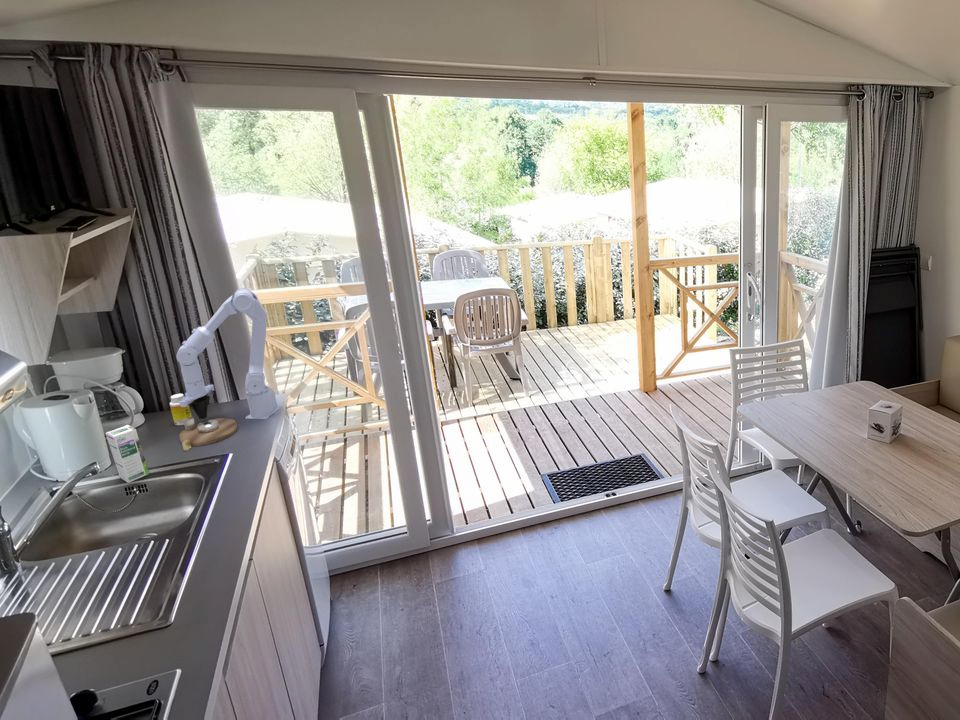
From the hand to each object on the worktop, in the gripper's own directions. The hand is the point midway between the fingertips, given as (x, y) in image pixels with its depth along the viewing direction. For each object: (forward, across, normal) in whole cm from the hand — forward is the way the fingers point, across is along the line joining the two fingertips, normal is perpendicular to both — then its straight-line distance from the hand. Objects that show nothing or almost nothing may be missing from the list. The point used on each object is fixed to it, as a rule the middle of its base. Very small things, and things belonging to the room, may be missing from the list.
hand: (203, 417), depth 182 cm
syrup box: (+3, +32, +1) cm, 32 cm away
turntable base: (+3, +8, +6) cm, 10 cm away
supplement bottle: (+3, -2, -10) cm, 10 cm away
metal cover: (+1, +6, +7) cm, 9 cm away
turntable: (+2, +6, +6) cm, 9 cm away
